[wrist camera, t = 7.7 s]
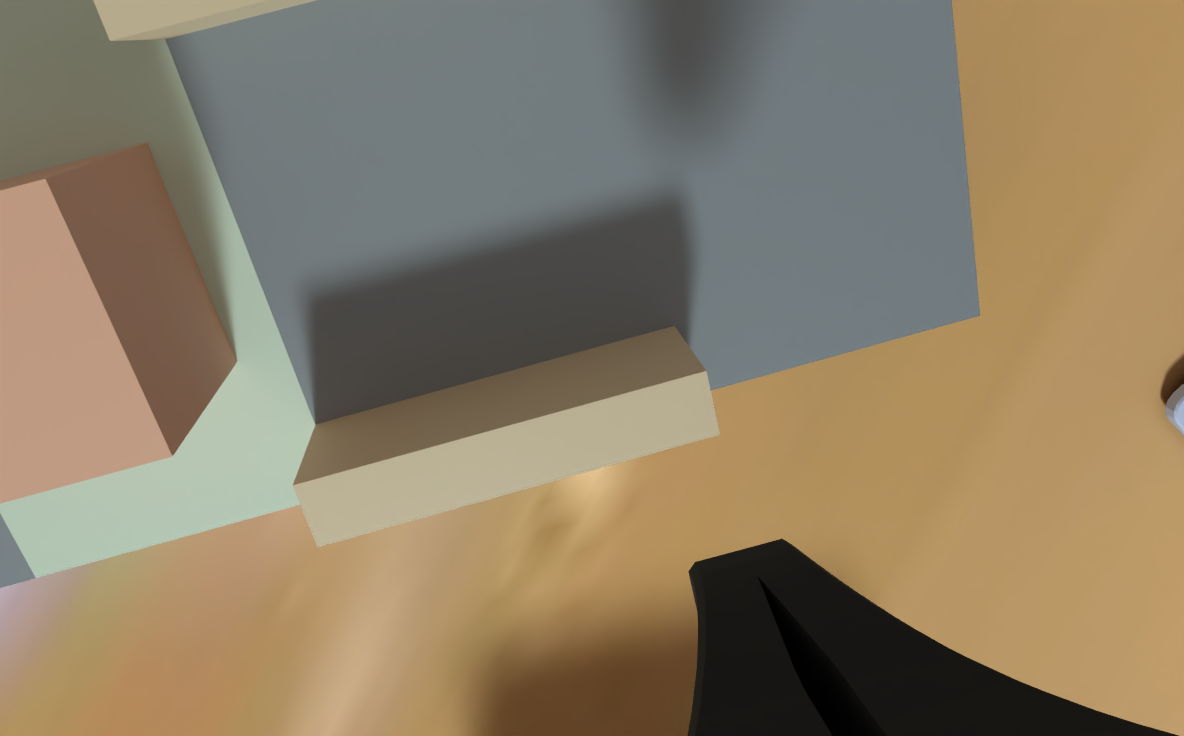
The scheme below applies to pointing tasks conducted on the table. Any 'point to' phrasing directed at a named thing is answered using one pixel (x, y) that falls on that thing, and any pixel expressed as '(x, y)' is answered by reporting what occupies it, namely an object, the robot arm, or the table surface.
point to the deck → (565, 218)
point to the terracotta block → (99, 324)
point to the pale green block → (263, 370)
